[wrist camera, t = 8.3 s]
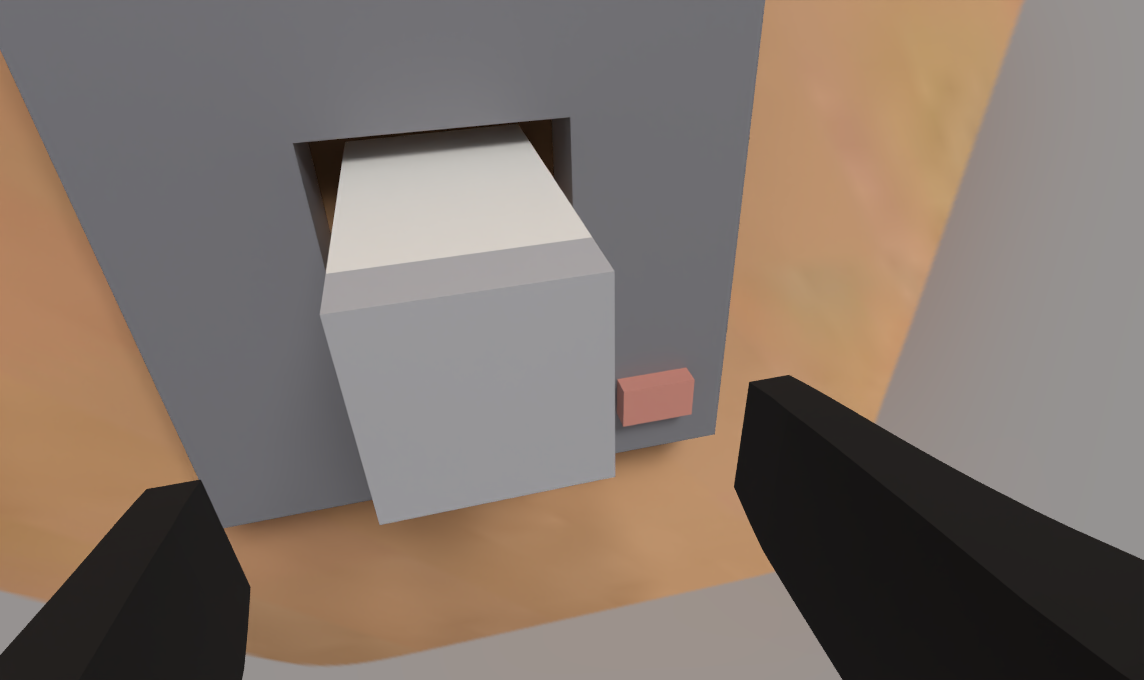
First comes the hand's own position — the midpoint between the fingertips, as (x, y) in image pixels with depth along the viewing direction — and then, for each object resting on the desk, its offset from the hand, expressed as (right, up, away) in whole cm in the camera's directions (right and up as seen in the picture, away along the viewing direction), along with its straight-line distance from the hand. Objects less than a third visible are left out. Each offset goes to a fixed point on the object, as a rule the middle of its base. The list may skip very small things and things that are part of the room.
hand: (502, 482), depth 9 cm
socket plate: (-2, +5, +8) cm, 9 cm away
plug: (-2, +5, +8) cm, 9 cm away
